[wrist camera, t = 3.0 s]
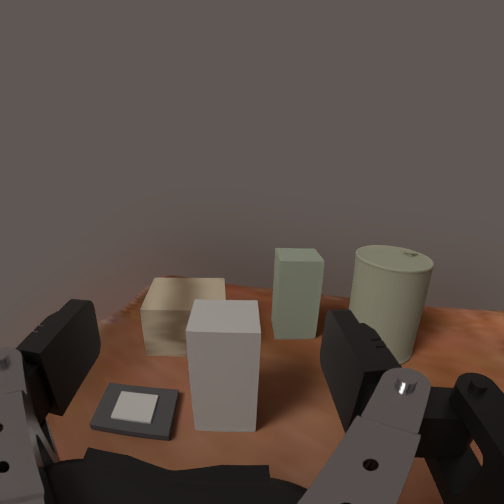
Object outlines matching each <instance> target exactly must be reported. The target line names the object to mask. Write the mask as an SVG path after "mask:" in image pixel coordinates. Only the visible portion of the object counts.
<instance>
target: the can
mask: <svg viewBox="0 0 504 504" xmlns="http://www.w3.org/2000/svg"><path fill="white" fill-rule="evenodd" d="M433 267H434V263H433V261H432V260H431V259H430V258H428V257H427V256H425V255H423V254H421V253H418V252H415V251H412V250H409V249H405V248H400V247H393V246H384V245H370V246H365V247H361V248H359V249H357V251H356V260H355V269H354V277H353V285H352V291H351V298H350V304H349V309H350V310H351V311H352V313H353V314H354V316H355V317H356V319H357V320H358V321H359V323H365V324H367V325H368V326H370V327H371V328H373V329H374V330H376V332H377V333H378V334H379V336H380V337H381V340H383V341H384V343H385V344H386V347H388V348H389V350H390V351H391V353H392V354H393V355H394V357H395V358H396V360H397V361H398V363H399V364H400V365H401V364H403V363H405V362H407V361H408V360H409V359H410V358H411V356H412V353H413V346H414V343H415V339H416V335H417V331H418V327H419V324H420V320H421V316H422V312H423V308H424V304H425V300H426V296H427V292H428V287H429V283H430V278H431V274H432V270H433Z"/></svg>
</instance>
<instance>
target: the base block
mask: <svg viewBox="0 0 504 504" xmlns="http://www.w3.org/2000/svg"><path fill="white" fill-rule="evenodd" d="M195 299H203V300H226V299H225V282H224V278H154V281H153V283H152V285H151V287H150V289H149V291H148V293H147V296H146V298H145V300H144V302H143V304H142V307H141V309H140V312H141V320H142V328H143V335H144V342H145V348H146V355H151V356H187V343H186V328H187V324H188V321H189V317H190V314H191V310H192V307H193V303H194V300H195Z"/></svg>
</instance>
